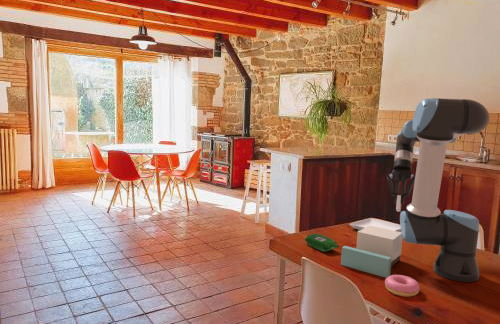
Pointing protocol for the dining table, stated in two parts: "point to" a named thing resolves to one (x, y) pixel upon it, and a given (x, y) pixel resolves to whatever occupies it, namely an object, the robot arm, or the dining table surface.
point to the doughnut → (402, 285)
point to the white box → (380, 241)
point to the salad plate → (375, 224)
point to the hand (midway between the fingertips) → (398, 210)
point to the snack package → (321, 242)
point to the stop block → (366, 261)
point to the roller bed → (395, 261)
